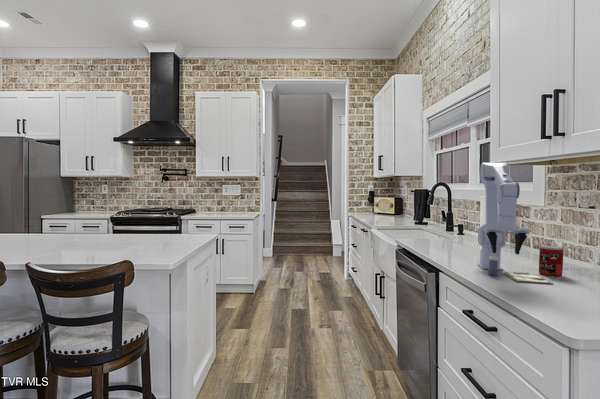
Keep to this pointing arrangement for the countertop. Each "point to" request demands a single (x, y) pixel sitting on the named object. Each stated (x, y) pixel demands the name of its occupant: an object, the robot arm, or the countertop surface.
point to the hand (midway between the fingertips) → (505, 253)
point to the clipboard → (527, 278)
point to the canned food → (551, 260)
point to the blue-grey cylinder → (493, 266)
